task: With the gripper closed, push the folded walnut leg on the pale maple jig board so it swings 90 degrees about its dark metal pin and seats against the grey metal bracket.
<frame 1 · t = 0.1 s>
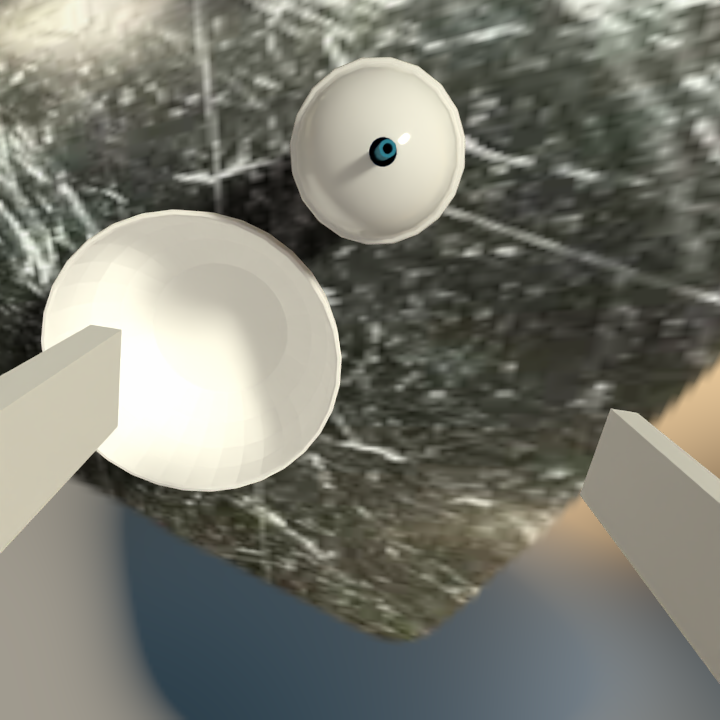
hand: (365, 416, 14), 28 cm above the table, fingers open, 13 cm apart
bowl: (223, 326, 42), on the table
smoothie: (367, 163, 39), on the table
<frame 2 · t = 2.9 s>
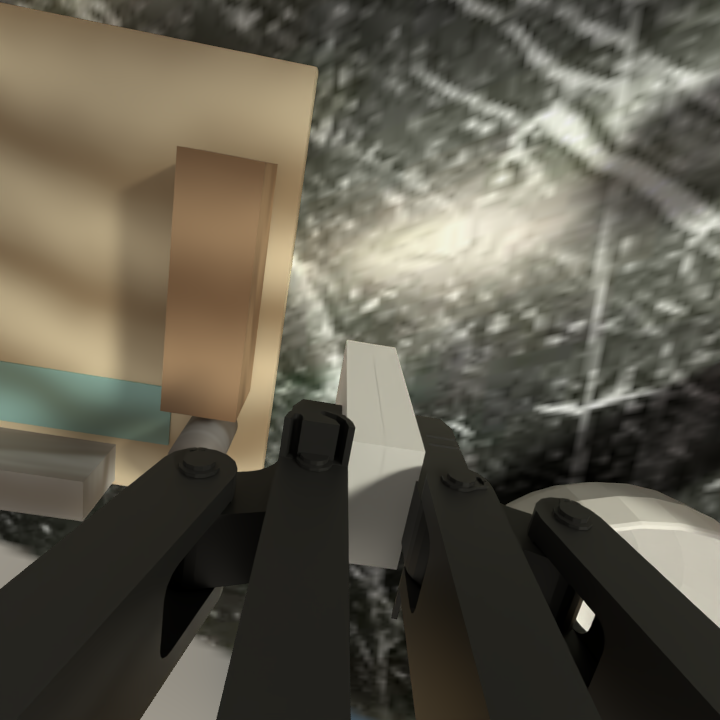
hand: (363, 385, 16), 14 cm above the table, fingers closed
bowl: (554, 559, 36), on the table
jig board: (121, 281, 29), on the table
leg: (219, 287, 26), point 4 cm above the table, hinge at 90.0°
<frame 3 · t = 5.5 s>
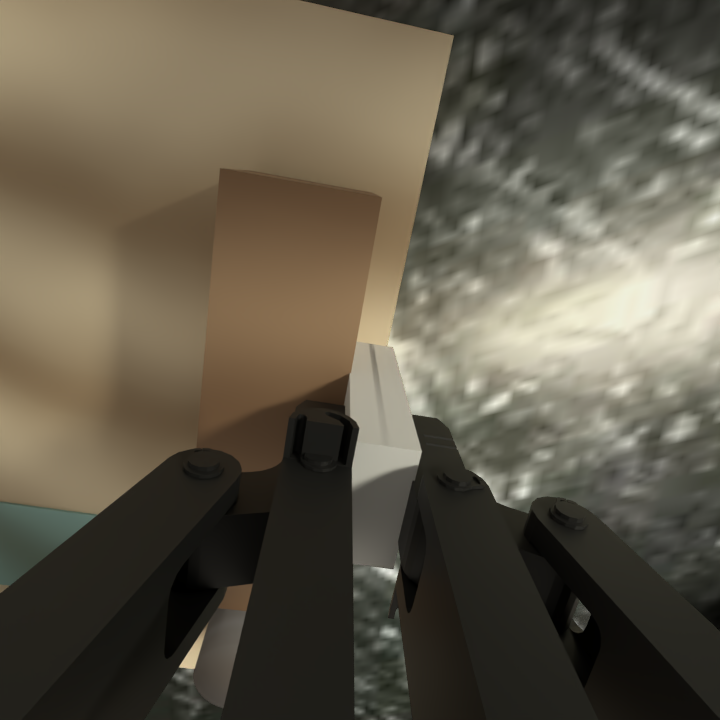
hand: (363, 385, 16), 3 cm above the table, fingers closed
jig board: (117, 369, 19), on the table
leg: (278, 396, 16), point 4 cm above the table, hinge at 89.1°, touching gripper
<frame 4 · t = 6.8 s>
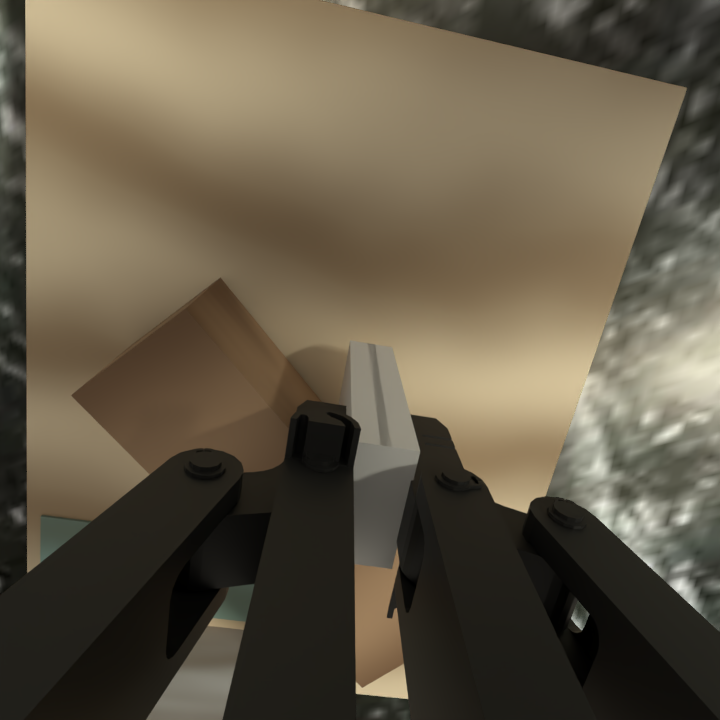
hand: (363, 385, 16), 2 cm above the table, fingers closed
jig board: (308, 403, 19), on the table
leg: (291, 484, 16), point 4 cm above the table, hinge at 43.4°, touching gripper
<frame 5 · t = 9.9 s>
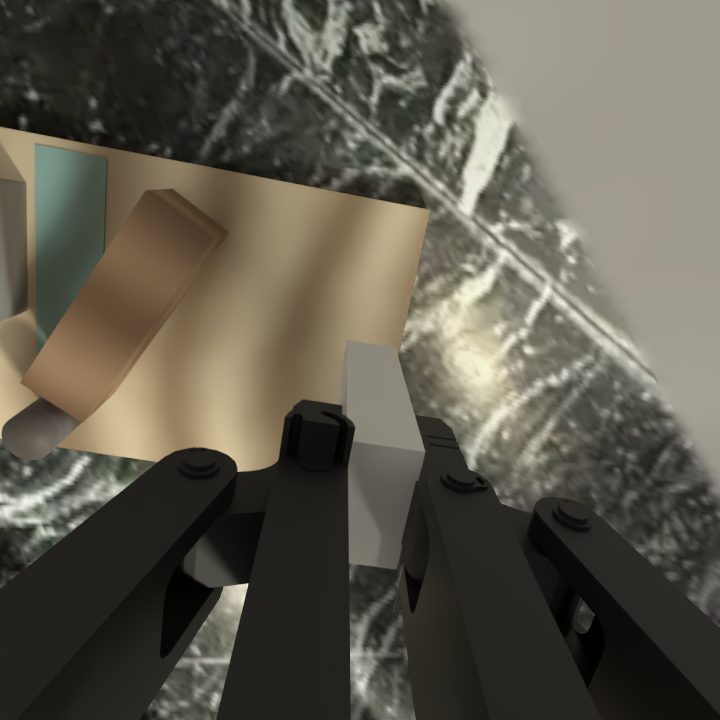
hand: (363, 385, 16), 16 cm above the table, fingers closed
jig board: (199, 324, 32), on the table
leg: (127, 305, 28), point 3 cm above the table, hinge at 28.4°
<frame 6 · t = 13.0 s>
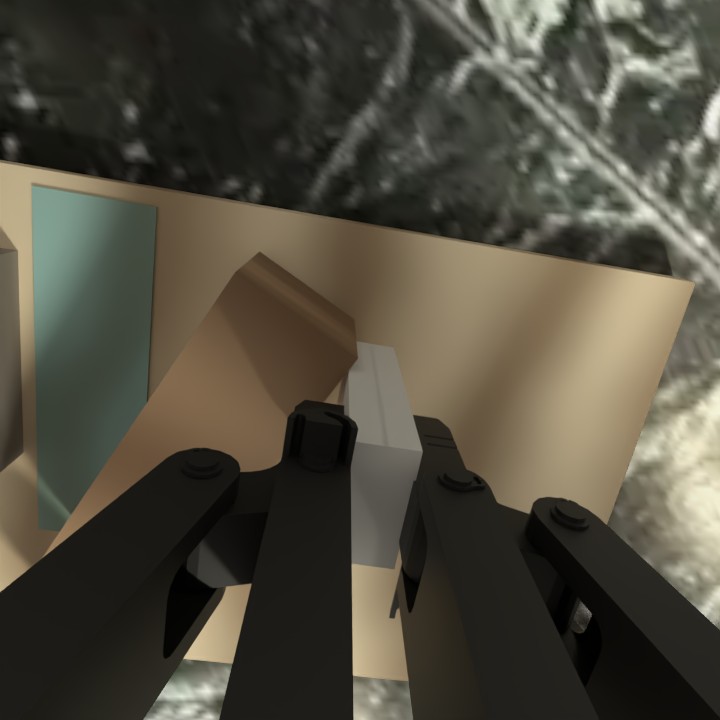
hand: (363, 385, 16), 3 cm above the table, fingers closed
jig board: (295, 458, 20), on the table
leg: (190, 456, 16), point 4 cm above the table, hinge at 27.1°, touching gripper
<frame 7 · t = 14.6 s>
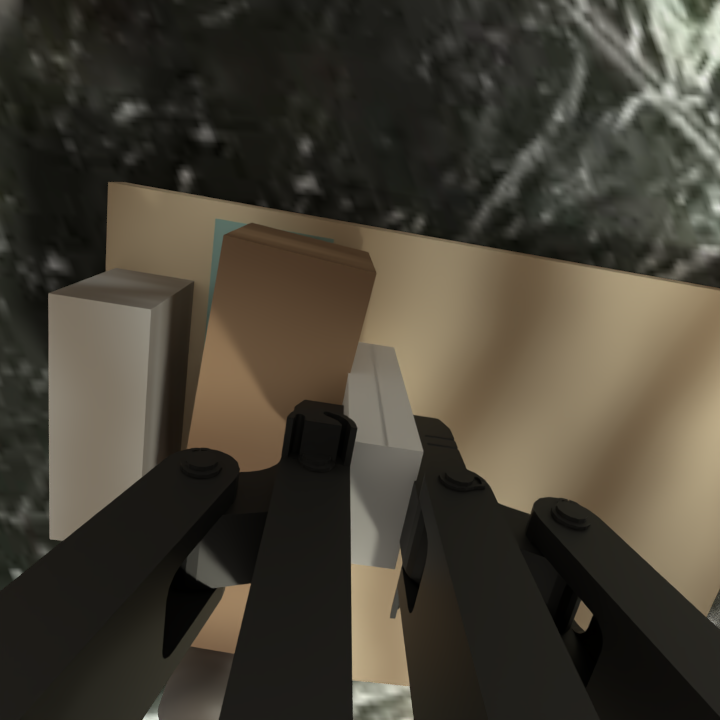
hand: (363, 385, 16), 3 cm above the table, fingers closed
jig board: (433, 480, 21), on the table
leg: (263, 442, 16), point 4 cm above the table, hinge at 4.4°, touching gripper
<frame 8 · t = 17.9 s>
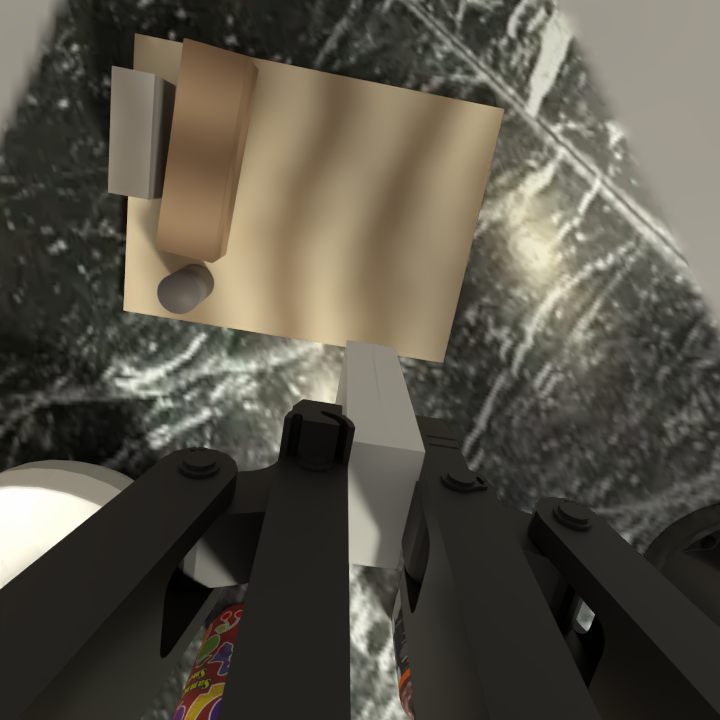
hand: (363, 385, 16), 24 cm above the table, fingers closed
bowl: (97, 524, 46), on the table
supplement bottle: (421, 611, 50), on the table
smoothie: (247, 624, 50), on the table
jig board: (305, 213, 38), on the table
leg: (207, 158, 34), point 3 cm above the table, hinge at 4.3°
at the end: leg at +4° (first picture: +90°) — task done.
